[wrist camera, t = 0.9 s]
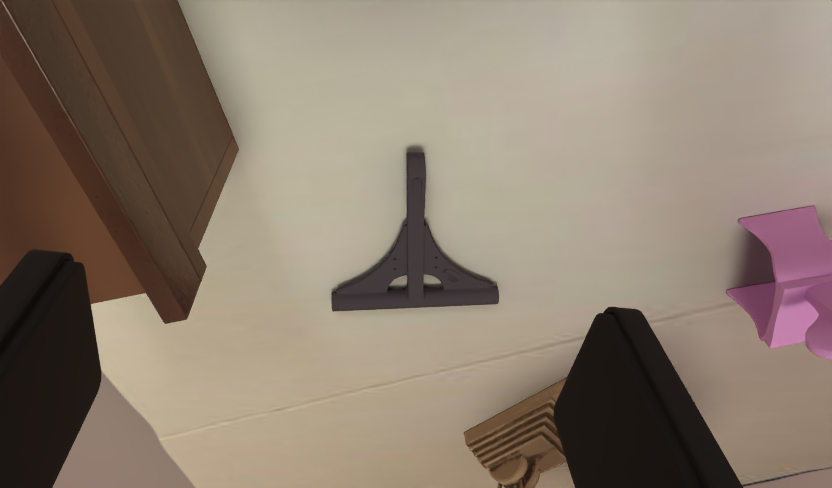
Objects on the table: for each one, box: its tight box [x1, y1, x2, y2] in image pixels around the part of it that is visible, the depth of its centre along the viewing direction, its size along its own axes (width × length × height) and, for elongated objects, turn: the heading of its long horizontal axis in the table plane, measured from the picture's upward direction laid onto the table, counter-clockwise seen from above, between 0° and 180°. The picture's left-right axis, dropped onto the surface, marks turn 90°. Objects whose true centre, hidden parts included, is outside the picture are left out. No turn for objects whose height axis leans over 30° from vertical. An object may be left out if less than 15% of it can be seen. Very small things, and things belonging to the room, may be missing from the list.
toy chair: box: [726, 206, 832, 360], centre depth 46 cm, size 8×9×15 cm
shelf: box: [0, 0, 238, 324], centre depth 31 cm, size 13×22×18 cm, turn 11°
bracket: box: [332, 153, 499, 311], centre depth 48 cm, size 14×15×3 cm
